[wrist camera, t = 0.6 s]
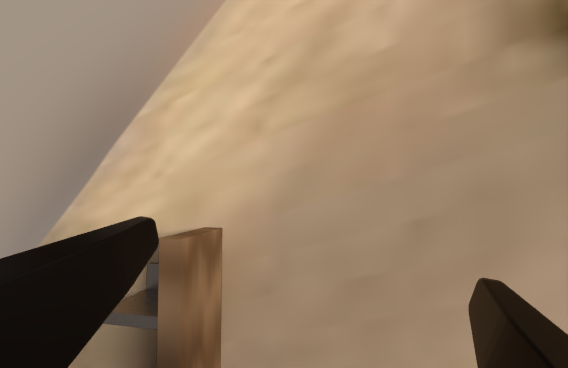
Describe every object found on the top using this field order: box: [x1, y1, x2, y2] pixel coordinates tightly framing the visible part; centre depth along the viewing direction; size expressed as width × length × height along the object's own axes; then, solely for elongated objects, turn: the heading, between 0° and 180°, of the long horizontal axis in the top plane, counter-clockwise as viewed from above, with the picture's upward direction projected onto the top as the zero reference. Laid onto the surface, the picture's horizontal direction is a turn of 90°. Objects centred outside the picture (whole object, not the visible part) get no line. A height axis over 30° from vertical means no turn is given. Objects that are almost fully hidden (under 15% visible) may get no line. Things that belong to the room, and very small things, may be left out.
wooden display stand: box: [157, 227, 222, 368], centre depth 21 cm, size 16×6×6 cm, turn 0°
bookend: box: [103, 263, 159, 330], centre depth 22 cm, size 3×6×5 cm, turn 90°
